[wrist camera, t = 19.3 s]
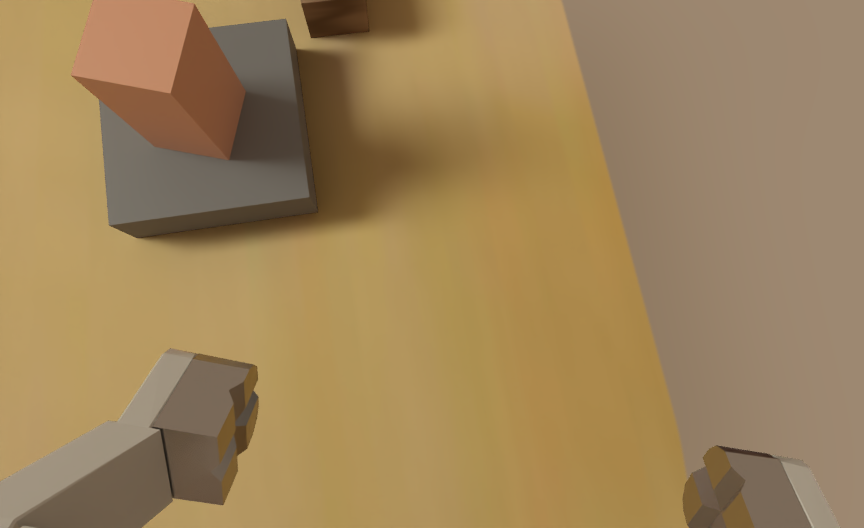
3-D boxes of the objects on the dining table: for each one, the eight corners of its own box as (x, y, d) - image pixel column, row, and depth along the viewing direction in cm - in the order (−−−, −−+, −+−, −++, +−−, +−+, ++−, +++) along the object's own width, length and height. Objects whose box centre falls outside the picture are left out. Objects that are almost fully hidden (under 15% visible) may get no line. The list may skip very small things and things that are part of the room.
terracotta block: (229, 160, 39) (170, 93, 29) (154, 146, 39) (70, 75, 29) (245, 91, 40) (194, 3, 30) (173, 77, 40) (97, -15, 30)
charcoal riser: (136, 237, 42) (109, 225, 38) (122, 69, 44) (94, 41, 40) (318, 212, 43) (309, 197, 39) (296, 48, 45) (285, 18, 41)
